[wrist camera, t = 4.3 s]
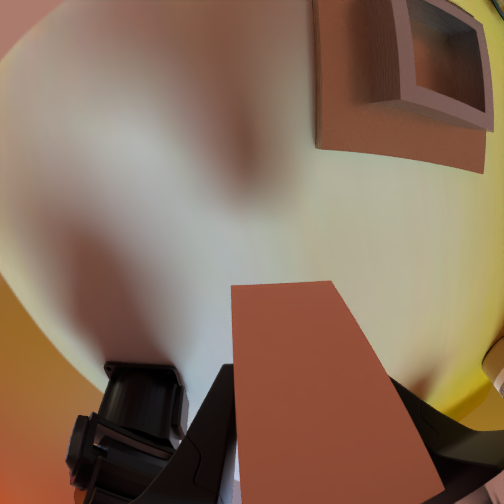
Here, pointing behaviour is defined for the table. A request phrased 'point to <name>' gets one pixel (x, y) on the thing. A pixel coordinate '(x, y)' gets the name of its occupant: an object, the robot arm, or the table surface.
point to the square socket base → (403, 81)
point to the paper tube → (495, 366)
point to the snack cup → (500, 6)
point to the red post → (318, 405)
